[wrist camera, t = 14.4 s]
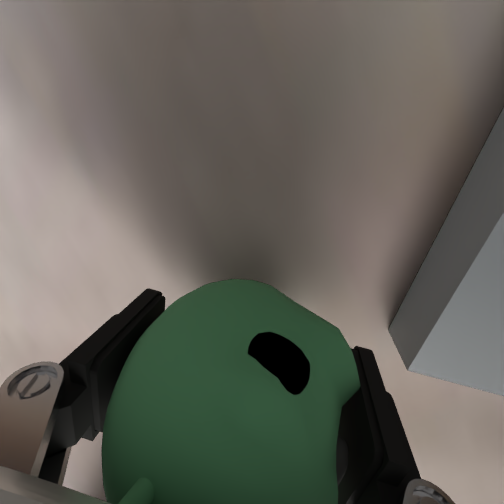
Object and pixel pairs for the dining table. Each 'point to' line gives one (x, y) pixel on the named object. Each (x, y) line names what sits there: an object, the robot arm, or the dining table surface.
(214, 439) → the alien toy
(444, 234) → the board
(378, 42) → the dining table surface
